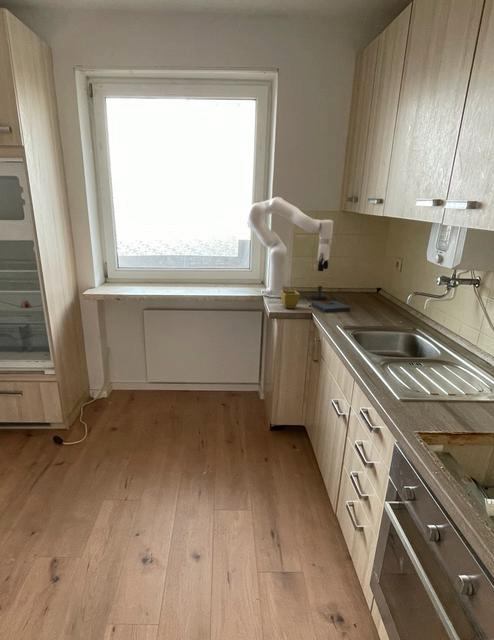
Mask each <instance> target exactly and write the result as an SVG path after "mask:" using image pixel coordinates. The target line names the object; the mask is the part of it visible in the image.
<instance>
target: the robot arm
mask: <svg viewBox="0 0 494 640" xmlns="http://www.w3.org/2000/svg"><path fill="white" fill-rule="evenodd" d="M271 214H277V215H279V216H281V217H282V218H283V219H286V220H287V221H289V222H290V223H292V224H294V225H296V226H298V227H299V228H301V229H303V230H304V231H306V232H308V233H310V234H315V233H317V232H319V237H318V250H317V257H316V258H317V261H318V265H317V271H318V272H324V270H328V269H329V259H330V252H331V245H332V242H333V231H334V230H333V229H334V220H333V219H317V218H312V217H311V216H308V215H307V214H305V213H304V212H302V210H301V209H299V208H298V207H297V206H296V205H293V204H291V203H290V202H288V201H286V200H284V198H282V197H280V196H275V197H273V198H270V199H267V200H264V201H260V202H255V203H252V205H251V206H250V207H249V210H248V213H247V221H248V224H249V225H250V227H251V229H252V231H253V232H254V234H255V235H256V237H257V239H258V240H259V241H260V242H261V244H262V245H263V246H264V247H266V248H267V249H268V250H269V251H270V252H269V270H268V271H269V273H268V287H267V288H266V289H261V290H260V292H261V293H260V294H265V296H266V297H268V298H275V299H278V298H279V299H281V291H284V285H285V270H286V269H285V267H286V266H285V265H286V256H287V255H288V249H287V247H286V245H285V244H284V242H283V241H282V239H281V238H280V236H279V234H277V232H275V231H274V230H273V229H272V230H271V229H270V228H269V226H268V225H267V223H266V221H264V219H263V217H264V216H267V215H271Z"/></svg>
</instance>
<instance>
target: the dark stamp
mask: <svg viewBox="0 0 494 640" xmlns="http://www.w3.org/2000/svg"><path fill="white" fill-rule="evenodd" d="M322 292H323V285H318V286H317V293H316V294H312V295H311V296H312V297H311V298H312V299H315V300H316V301H322V300H323V301H324V300H327V296H326V295H324V294H323V293H322Z"/></svg>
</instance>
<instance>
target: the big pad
mask: <svg viewBox="0 0 494 640" xmlns="http://www.w3.org/2000/svg"><path fill="white" fill-rule="evenodd" d="M311 306H312V307H313V308H315V309H317V310H318V311H321V312H323V313H337V312H349V311H351V307H350V306H348V305H346V304H345V303H342V302H339V301H337V300H329V303H328V304H323V303H321V302H320V301H312V302H311Z"/></svg>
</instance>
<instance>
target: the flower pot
mask: <svg viewBox="0 0 494 640" xmlns="http://www.w3.org/2000/svg"><path fill="white" fill-rule="evenodd" d="M300 295H301V294H300V293H299V292H298V291H296V290H283V291H281V297H280V301H281V304H282V306H283V307H284V308H285V309H295V308H296V307H297V306H298V303H299V299H300Z"/></svg>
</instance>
